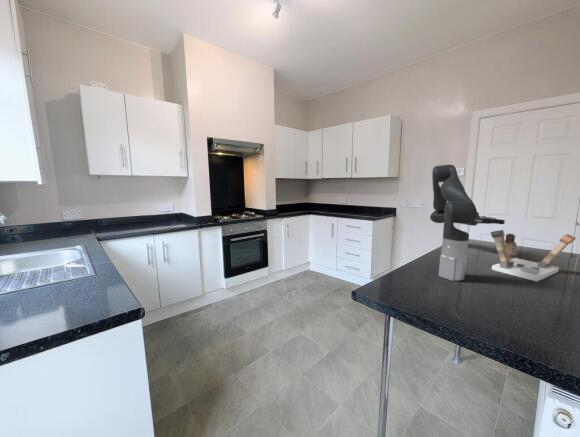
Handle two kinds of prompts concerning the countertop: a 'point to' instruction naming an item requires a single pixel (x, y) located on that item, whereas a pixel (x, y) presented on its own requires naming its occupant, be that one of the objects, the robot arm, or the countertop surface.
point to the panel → (526, 275)
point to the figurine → (511, 244)
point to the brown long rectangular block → (558, 248)
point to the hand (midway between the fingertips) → (503, 222)
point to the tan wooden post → (501, 246)
